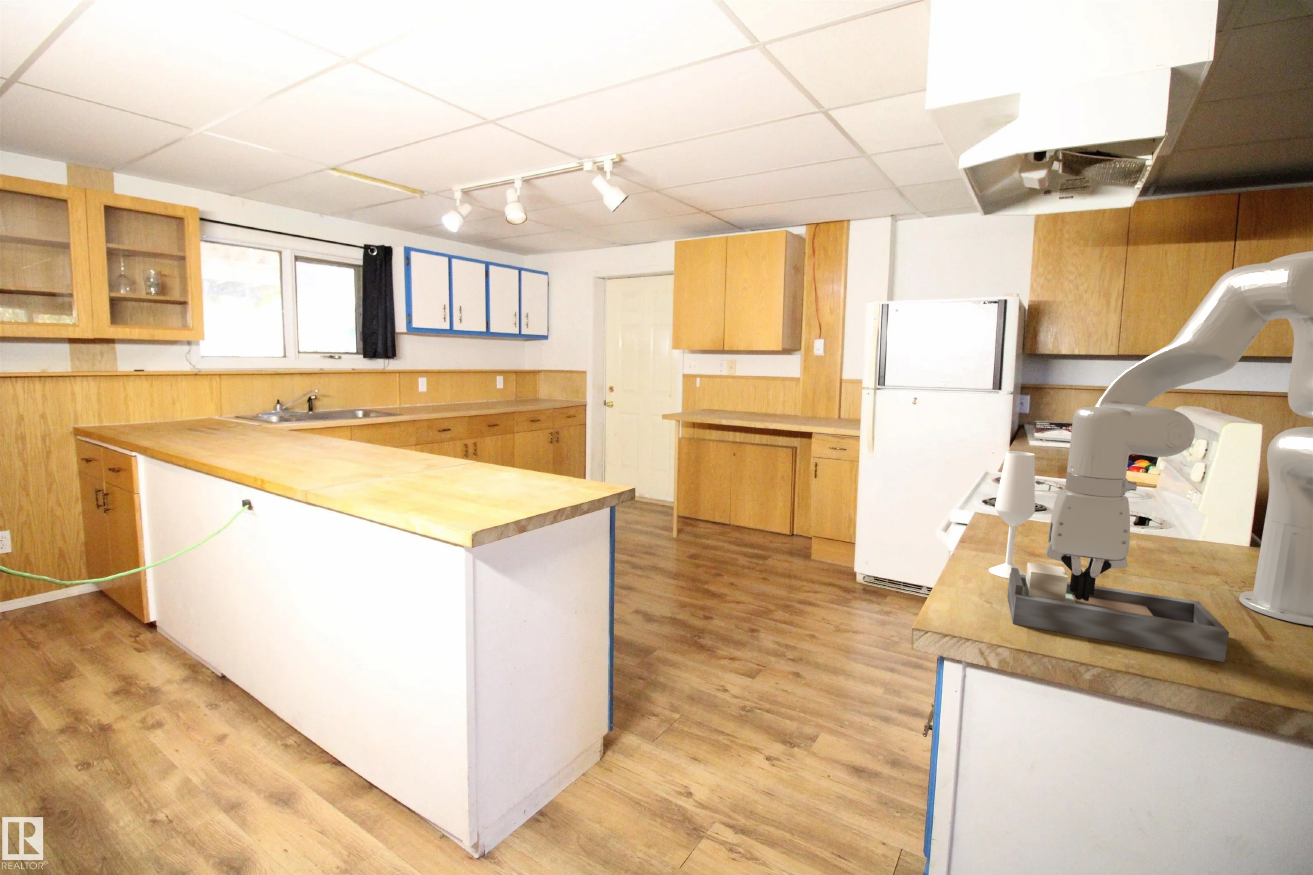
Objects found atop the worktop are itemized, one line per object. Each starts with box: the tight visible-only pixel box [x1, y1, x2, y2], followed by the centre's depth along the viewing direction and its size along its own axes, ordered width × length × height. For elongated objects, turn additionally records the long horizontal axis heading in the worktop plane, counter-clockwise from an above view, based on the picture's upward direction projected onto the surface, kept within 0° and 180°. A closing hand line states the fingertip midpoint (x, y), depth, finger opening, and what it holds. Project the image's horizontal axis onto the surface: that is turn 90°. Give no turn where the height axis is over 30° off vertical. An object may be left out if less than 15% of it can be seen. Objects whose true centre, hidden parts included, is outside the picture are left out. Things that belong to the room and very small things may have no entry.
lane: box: [1007, 567, 1230, 663], centre depth 97 cm, size 26×12×6 cm, turn 64°
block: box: [1025, 561, 1069, 602], centre depth 100 cm, size 5×5×5 cm
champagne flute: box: [988, 450, 1036, 579], centre depth 118 cm, size 7×7×24 cm
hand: (1080, 597), depth 98 cm, fingers closed
